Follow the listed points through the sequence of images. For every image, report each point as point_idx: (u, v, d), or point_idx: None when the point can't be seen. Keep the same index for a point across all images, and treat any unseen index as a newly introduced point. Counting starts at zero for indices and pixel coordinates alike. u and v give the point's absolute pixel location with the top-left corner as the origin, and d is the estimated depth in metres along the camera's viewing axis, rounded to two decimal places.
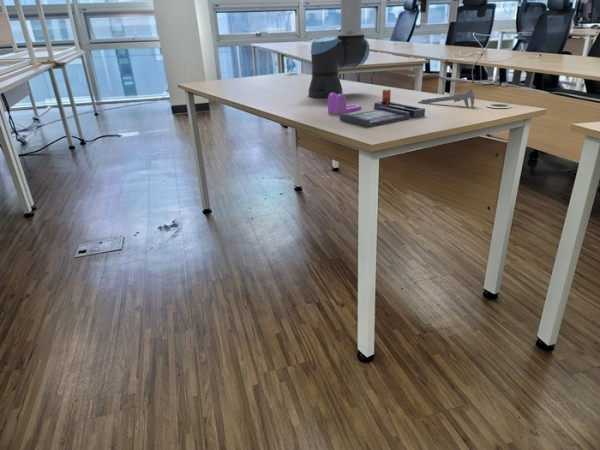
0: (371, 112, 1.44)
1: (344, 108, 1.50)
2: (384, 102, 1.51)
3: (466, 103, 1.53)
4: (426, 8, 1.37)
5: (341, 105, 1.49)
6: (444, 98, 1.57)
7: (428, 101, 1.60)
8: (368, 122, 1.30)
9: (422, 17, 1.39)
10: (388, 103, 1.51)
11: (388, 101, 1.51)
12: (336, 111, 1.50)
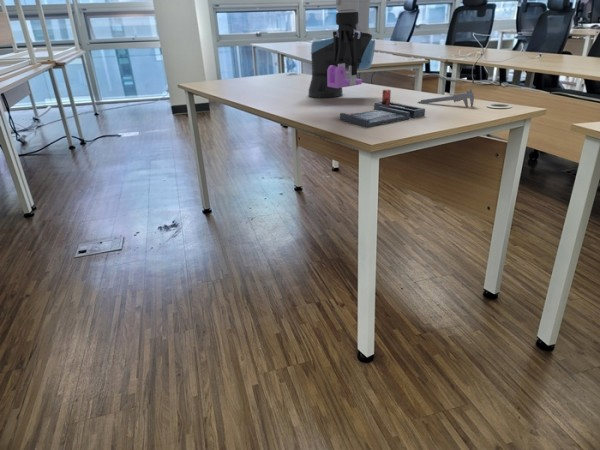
0: (371, 112, 1.44)
1: (343, 81, 1.47)
2: (384, 102, 1.51)
3: (466, 103, 1.53)
4: None
5: (340, 78, 1.45)
6: (444, 98, 1.57)
7: (428, 101, 1.60)
8: (368, 122, 1.30)
9: None
10: (388, 103, 1.51)
11: (388, 101, 1.51)
12: (335, 84, 1.46)
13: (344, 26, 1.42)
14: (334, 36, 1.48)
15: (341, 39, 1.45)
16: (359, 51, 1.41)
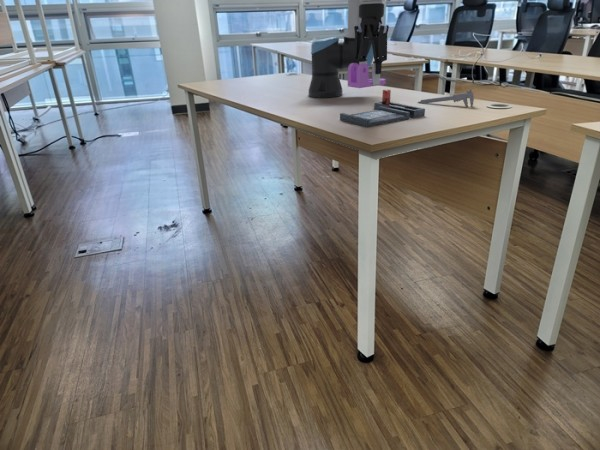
0: (371, 112, 1.44)
1: (366, 80, 1.32)
2: (384, 102, 1.51)
3: (465, 103, 1.53)
4: None
5: (363, 77, 1.30)
6: (443, 98, 1.57)
7: (428, 101, 1.60)
8: (368, 122, 1.30)
9: None
10: (388, 103, 1.51)
11: (388, 101, 1.51)
12: (357, 84, 1.31)
13: (368, 19, 1.27)
14: (356, 31, 1.33)
15: (364, 34, 1.30)
16: (385, 47, 1.27)
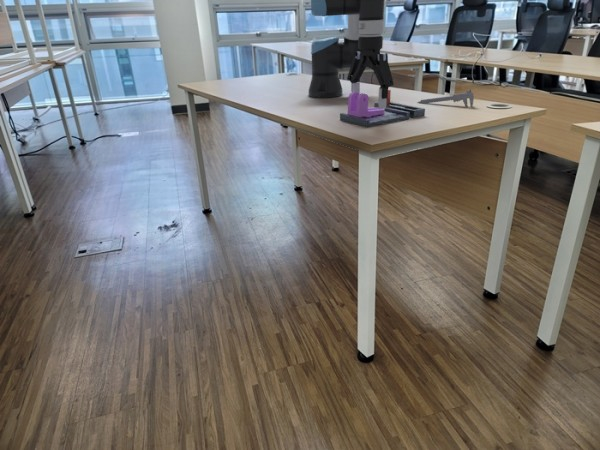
0: None
1: (366, 110, 1.35)
2: None
3: (465, 103, 1.53)
4: None
5: (362, 106, 1.34)
6: (443, 98, 1.57)
7: (427, 101, 1.60)
8: (368, 122, 1.30)
9: None
10: (388, 103, 1.51)
11: (388, 101, 1.51)
12: (356, 112, 1.35)
13: (367, 51, 1.32)
14: (354, 57, 1.37)
15: (361, 64, 1.35)
16: (388, 73, 1.28)
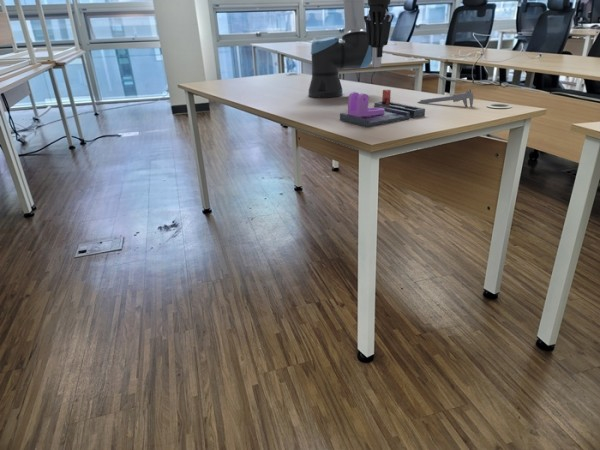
0: None
1: (366, 110, 1.35)
2: (384, 102, 1.51)
3: (465, 103, 1.53)
4: None
5: (362, 106, 1.34)
6: (443, 98, 1.57)
7: (427, 101, 1.60)
8: (368, 122, 1.30)
9: None
10: (388, 103, 1.51)
11: (388, 101, 1.51)
12: (356, 112, 1.35)
13: (376, 7, 1.43)
14: (366, 20, 1.49)
15: (373, 20, 1.45)
16: (387, 34, 1.44)
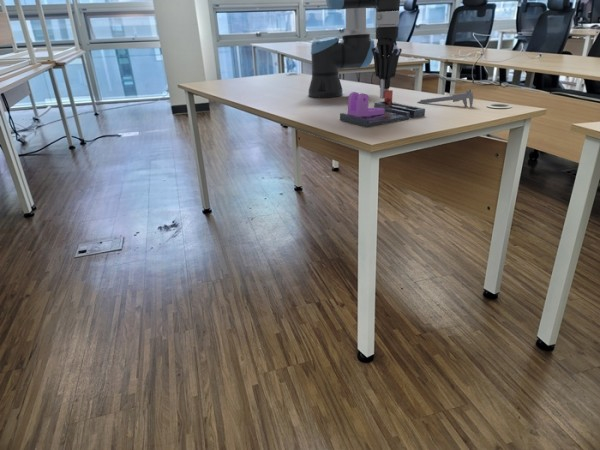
0: None
1: (366, 110, 1.35)
2: (386, 102, 1.51)
3: (465, 103, 1.53)
4: None
5: (362, 106, 1.34)
6: (443, 98, 1.57)
7: (427, 101, 1.60)
8: (368, 122, 1.30)
9: None
10: (390, 103, 1.51)
11: (390, 101, 1.50)
12: (356, 112, 1.35)
13: (384, 40, 1.44)
14: (373, 52, 1.49)
15: (381, 53, 1.46)
16: (395, 66, 1.45)
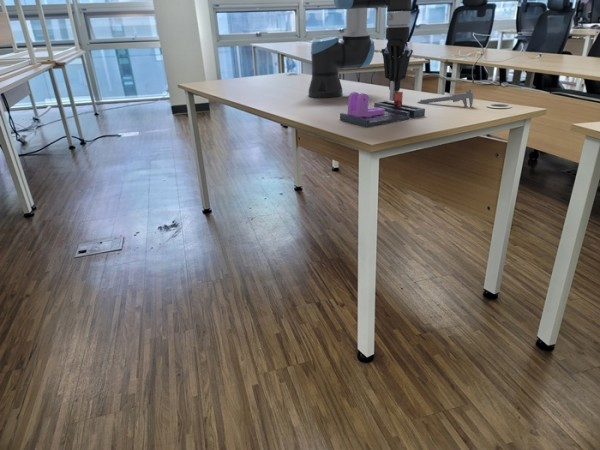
0: None
1: (366, 110, 1.35)
2: (396, 104, 1.47)
3: (465, 103, 1.53)
4: None
5: (362, 106, 1.34)
6: (443, 98, 1.57)
7: (427, 101, 1.60)
8: (368, 122, 1.30)
9: None
10: (400, 105, 1.47)
11: (400, 103, 1.46)
12: (356, 112, 1.35)
13: (394, 41, 1.40)
14: (383, 53, 1.45)
15: (391, 54, 1.42)
16: (405, 68, 1.41)
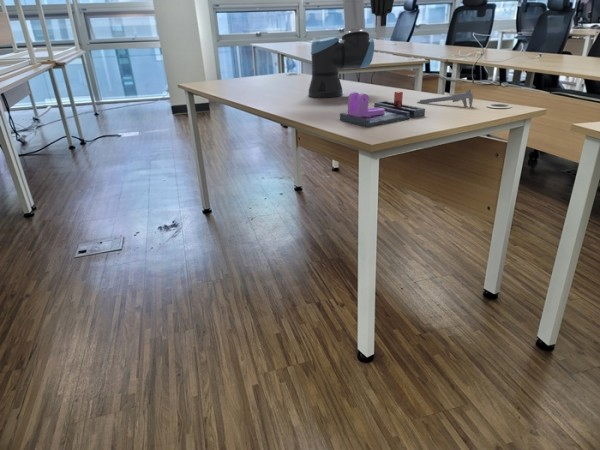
0: None
1: (366, 110, 1.35)
2: (396, 104, 1.47)
3: (464, 103, 1.53)
4: None
5: (362, 106, 1.34)
6: (443, 98, 1.57)
7: (427, 101, 1.60)
8: (368, 122, 1.30)
9: None
10: (400, 105, 1.47)
11: (400, 103, 1.46)
12: (356, 112, 1.35)
13: None
14: None
15: None
16: (391, 0, 1.38)
